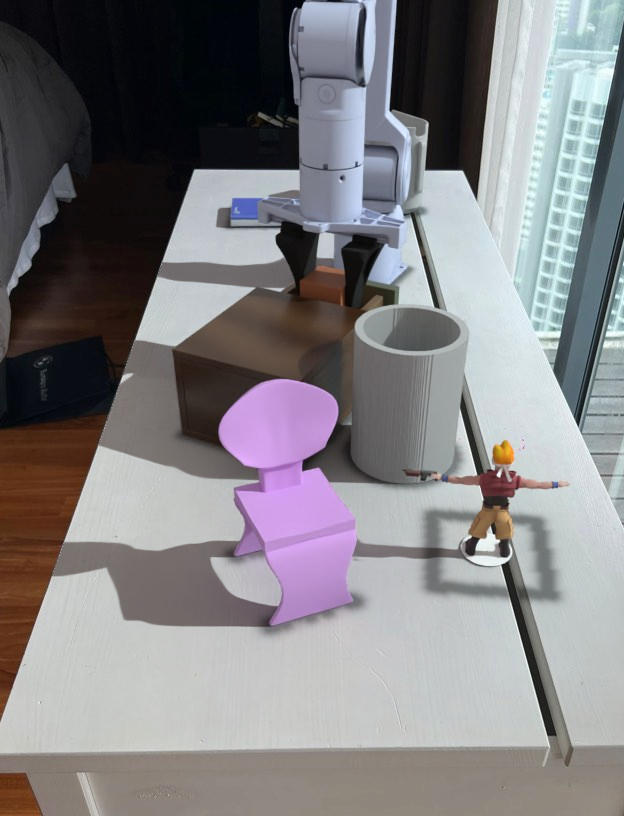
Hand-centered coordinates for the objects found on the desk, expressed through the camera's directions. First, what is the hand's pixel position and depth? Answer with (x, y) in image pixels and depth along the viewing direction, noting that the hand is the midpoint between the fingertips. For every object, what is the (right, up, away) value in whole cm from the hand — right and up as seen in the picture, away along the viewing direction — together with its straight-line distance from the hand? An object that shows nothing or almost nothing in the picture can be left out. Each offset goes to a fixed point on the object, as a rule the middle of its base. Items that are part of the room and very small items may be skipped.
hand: (329, 305), depth 83 cm
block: (0, -1, +1) cm, 1 cm away
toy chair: (-2, -26, -21) cm, 34 cm away
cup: (+7, -16, -8) cm, 19 cm away
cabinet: (-5, -11, -4) cm, 13 cm away
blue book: (-8, +23, +38) cm, 45 cm away
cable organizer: (+8, +27, +43) cm, 51 cm away
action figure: (+11, -24, -18) cm, 33 cm away
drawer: (0, -4, +4) cm, 6 cm away
